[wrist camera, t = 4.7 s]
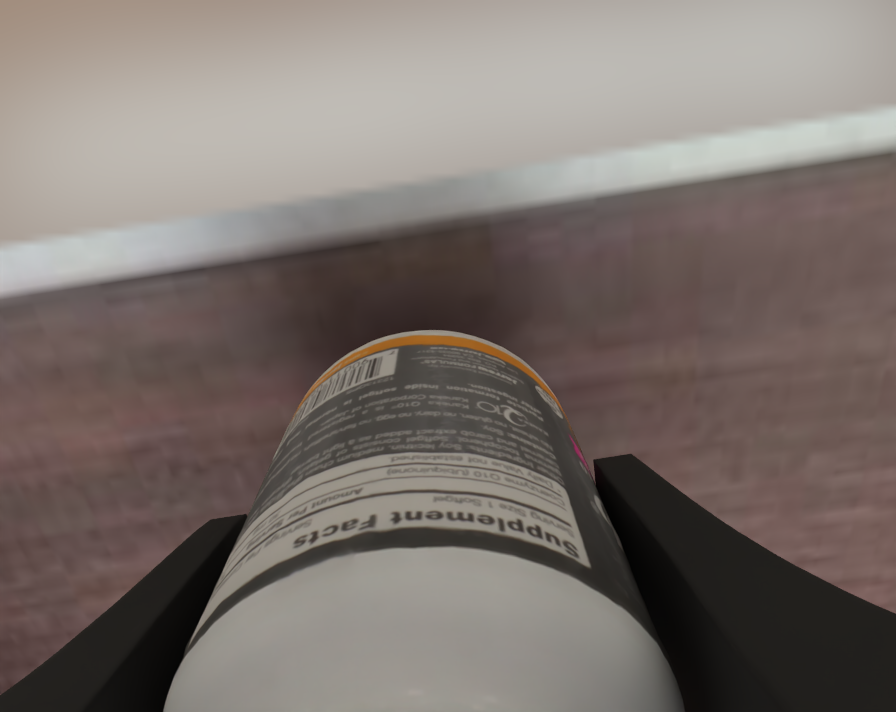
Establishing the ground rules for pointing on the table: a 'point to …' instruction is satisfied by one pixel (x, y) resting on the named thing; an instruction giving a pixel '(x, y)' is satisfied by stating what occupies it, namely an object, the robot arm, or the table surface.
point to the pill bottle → (427, 554)
